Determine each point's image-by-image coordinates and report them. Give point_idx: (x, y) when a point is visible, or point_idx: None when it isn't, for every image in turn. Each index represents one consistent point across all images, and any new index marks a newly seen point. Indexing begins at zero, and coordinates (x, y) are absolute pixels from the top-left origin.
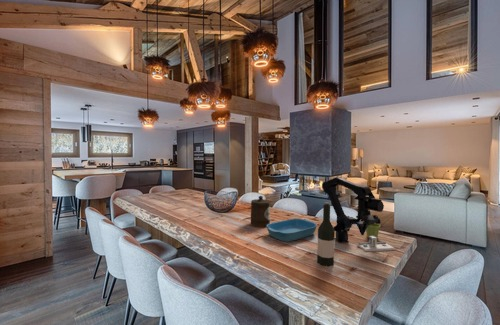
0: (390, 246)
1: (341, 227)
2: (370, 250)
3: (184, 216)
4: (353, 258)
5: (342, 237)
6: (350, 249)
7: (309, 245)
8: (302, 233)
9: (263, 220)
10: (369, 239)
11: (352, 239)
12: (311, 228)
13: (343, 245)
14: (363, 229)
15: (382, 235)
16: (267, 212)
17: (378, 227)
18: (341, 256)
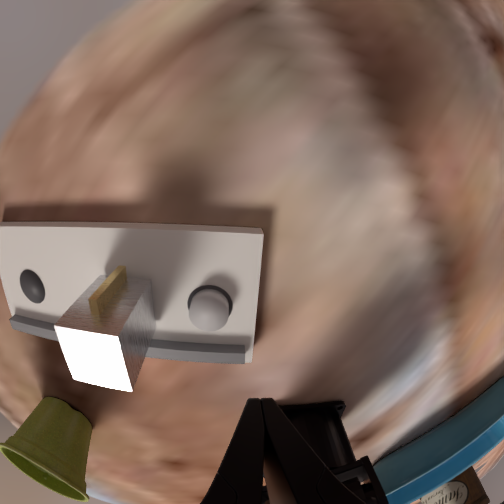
0: (3, 257)
1: (382, 491)
2: (203, 226)
3: (499, 449)
4: (452, 128)
5: (326, 433)
6: (368, 288)
7: (494, 346)
8: (477, 420)
9: (461, 473)
10: (139, 354)
11: (205, 432)
12: (434, 464)
13: (356, 360)
14: (260, 484)
15: (17, 408)
16: (456, 497)
17: (10, 444)
18: (489, 184)
